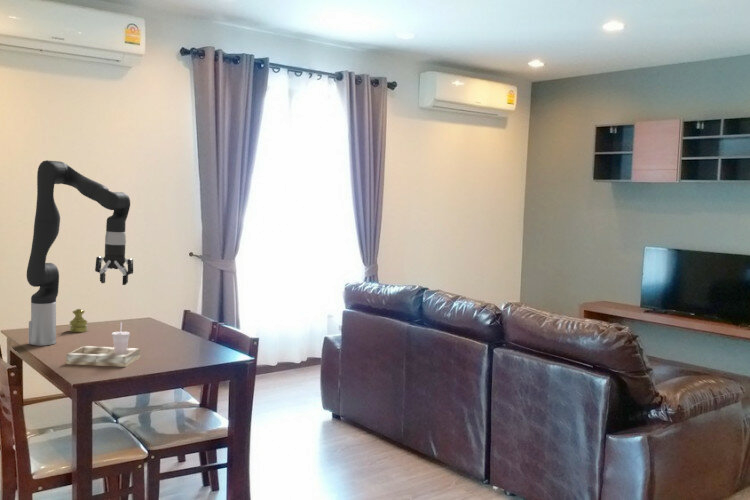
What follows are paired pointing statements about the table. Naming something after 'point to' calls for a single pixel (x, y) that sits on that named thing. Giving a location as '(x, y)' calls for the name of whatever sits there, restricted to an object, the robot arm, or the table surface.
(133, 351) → the cream rectangular tray
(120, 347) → the smoothie
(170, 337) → the table surface
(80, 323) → the olive green stacked toy
